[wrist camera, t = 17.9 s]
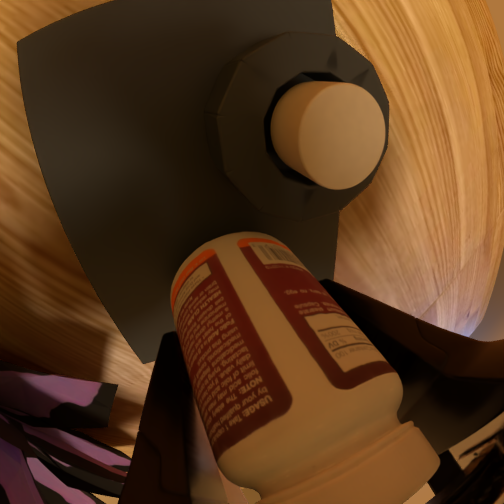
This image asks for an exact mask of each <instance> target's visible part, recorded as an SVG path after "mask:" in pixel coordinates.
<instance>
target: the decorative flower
mask: <svg viewBox="0 0 504 504" xmlns="http://www.w3.org/2000/svg"><path fill="white" fill-rule="evenodd" d="M117 387H118V385H117V384H110V383H103V382H97V381H91V380H85V379H80V378H75V377H70V376H65V375H60V374H51V375H50V374H46V373H42V372H38V371H34V370H31V369H27V368H24V367H20V366H17V365H13V364H10V363H7V362H4V361H1V360H0V504H106V503H104V502H103V501H101V500H100V499H98V498H97V497H96V496H94V495H93V494H92V493H95V494H100V495H105V496H110V497H116V498H119V497H120V494H121V491H122V488H123V485H124V482H125V478H126V475H127V473H126V472H128V469H129V466H130V462H131V459H132V458H130V457H129V456H127V455H126V454H124V453H123V452H122V451H119V450H117V449H115V448H113V447H110V446H108V445H106V444H104V443H102V442H100V441H98V440H96V439H94V438H92V437H90V436H88V435H86V434H84V433H83V432H80V431H76V430H73V429H70V428H103V427H108V423H109V417H110V412H111V408H112V404H113V401H114V397H115V394H116V391H117Z"/></svg>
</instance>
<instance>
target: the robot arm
mask: <svg viewBox="0 0 504 504" xmlns="http://www.w3.org/2000/svg"><path fill="white" fill-rule="evenodd" d="M318 282H319V283H320V284H321V285H322V286H323V288H324V289H325V290H326V291H327V292H328V294H329V295H330V296H331V297H332V298H333V299H334V301H335V302H336V303H337V304H338V305H339V306H340V307H341V308H342V309H343V310H344V312H345V313H346V314H347V315H348V316H349V317H350V319H351V320H352V321H353V322H354V323H355V324H356V326H357V327H358V328H359V329H360V330H361V331H362V332H363V333H364V335H365V336H366V337H367V338H368V339H369V340H370V342H371V343H372V344H373V345H374V346H375V347H376V349H377V350H378V351H379V352H380V353H381V354H382V356H383V357H384V358H385V359H386V361H387V362H388V363H389V365H390V366H391V367H392V368H393V369H394V370H396V372H397V373H398V375H399V378H400V380H401V383H402V386H403V397H402V401H401V404H400V406H399V408H398V411H397V418H398V420H399V422H400V423H401V424H404V423H406V422H409V421H412V422H413V423H414V426H415V427H417V428H419V429H420V431H421V432H422V434H423V435H424V436H425V438H426V439H427V441H428V442H429V443H430V445H431V446H432V448H433V449H434V451H435V452H436V454H437V455H438V457H439V459H440V465H439V467H438V469H437V471H436V472H435V473H434V475H433V476H432V477H431V478H430V479H429V480H428V481H427V483H428V484H429V486H430V487H431V489H432V491H433V492H434V494H435V496H434V497H433V498H432V499H431V500H429V501H428V502H427V503H426V504H504V339H502V340H497V341H491V342H485V341H478V340H475V339H472V338H469V337H466V336H463V335H460V334H457V333H454V332H451V331H448V330H445V329H442V328H440V327H437V326H435V325H432V324H430V323H427V322H425V321H423V320H421V319H418V318H415V317H414V316H411V315H409V314H407V313H405V312H402V311H400V310H398V309H396V308H393V307H391V306H389V305H387V304H384V303H382V302H380V301H378V300H375V299H373V298H371V297H369V296H366V295H364V294H362V293H360V292H357V291H355V290H353V289H351V288H348V287H346V286H344V285H342V284H339V283H337V282H335V281H332V280H330V279H327V278H325V279H322V280H320V281H318ZM456 460H457V461H456ZM458 463H459V464H458ZM118 504H229V502H228V498H227V495H226V492H225V489H224V486H223V483H222V479H221V476H220V473H219V469H218V466H217V463H216V461H215V458H214V455H213V451H212V449H211V446H210V443H209V441H208V438H207V434H206V432H205V428H204V425H203V423H202V420H201V417H200V414H199V411H198V408H197V405H196V401H195V398H194V395H193V391H192V387H191V384H190V381H189V377H188V373H187V370H186V366H185V363H184V359H183V356H182V351H181V347H180V343H179V339H178V335H177V332H176V331H171V332H167V333H164V334H163V336H162V339H161V343H160V346H159V350H158V353H157V357H156V360H155V364H154V368H153V372H152V375H151V379H150V383H149V387H148V391H147V395H146V399H145V403H144V407H143V411H142V416H141V420H140V424H139V431H138V433H137V438H136V443H135V447H134V451H133V455H132V459H131V462H130V466H129V469H128V472H127V475H126V478H125V482H124V485H123V488H122V491H121V494H120V497H119V501H118Z"/></svg>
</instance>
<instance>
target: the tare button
mask: <svg viewBox="0 0 504 504" xmlns="http://www.w3.org/2000/svg"><path fill="white" fill-rule="evenodd" d="M270 129H271V139H272V143H273V146H274V149H275V151H276V153H277V154H278V156H279V157H280V159H281V160H282V161H283V162H284V163H285V164H286V165H287V166H289V167H290V168H292V169H293V170H295V171H297V172H299V173H300V174H302V175H304V176H305V177H307V178H309V179H310V180H312V181H314V182H315V183H317V184H319V185H320V186H322V187H325V188H328V189H333V190H341V189H347V188H350V187H353V186H355V185H357V184H359V183H360V182H362V181H363V180H364V179H365V178H366V177H367V176H368V175H369V174H370V173H371V172H372V171H373V169H374V168H375V166H376V165H377V163H378V161H379V159H380V157H381V154H382V151H383V148H384V143H385V122H384V117H383V114H382V111H381V109H380V107H379V105H378V103H377V102H376V100H375V99H374V98H373V96H372V95H371V94H370V93H368V92H367V91H366V90H365V89H363V88H362V87H359V86H357V85H355V84H351V83H343V82H325V81H308V82H303V83H300V84H297V85H295V86H294V87H292V88H290V89H289V90H288V91H287V92H286V93H285V94H284V95H283V96H282V97H281V98H280V100H279V101H278V103H277V104H276V106H275V109H274V111H273V114H272V118H271V126H270Z"/></svg>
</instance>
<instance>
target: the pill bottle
mask: <svg viewBox="0 0 504 504" xmlns="http://www.w3.org/2000/svg"><path fill="white" fill-rule="evenodd" d="M170 301H171V309H172V313H173V318H174V323H175V328H176V332H177V335H178V339H179V343H180V347H181V351H182V356H183V359H184V363H185V366H186V370H187V373H188V377H189V381H190V384H191V387H192V391H193V395H194V398H195V401H196V405H197V408H198V411H199V414H200V417H201V420H202V423H203V425H204V428H205V432H206V434H207V438H208V441H209V443H210V446H211V449H212V451H213V455H214V458H215V461H216V463H217V466H218V468H219V469H220V471H221V472H222V474H223V475H224V477H225V478H226V479H227V480H228V481H230V482H231V483H233V484H235V485H237V486H240V487H244V488H250V489H254V490H255V491H257V492H258V493H259V494H260V496H261V500H260V501H258V502H256V503H255V504H403V503H404V502H405V501H406V500H408V499H409V498H410V497H411V496H413V495H414V494H415V493H416V492H417V491H418V490H419V489H420V488H421V487H422V486H423V485H424V484H425V483H426V482H427V481H428V480H429V479H430V478H431V477H432V476H433V475H434V473H435V472H436V471H437V469H438V467H439V465H440V459H439V457H438V455H437V454H436V452H435V451H434V449H433V448H432V446H431V445H430V443H429V442H428V441H427V439H426V438H425V436H424V435H423V434H422V432H421V431H420V429H419V428H417V427H415V426H414V423H413V422H412V421H409V422H406V423H404V424H401V423H400V422H399V420H398V418H397V411H398V408H399V406H400V404H401V401H402V397H403V386H402V383H401V380H400V378H399V375H398V373H397V372H396V370H394V369H393V368H392V367H391V366H390V365H389V363H388V362H387V361H386V359H385V358H384V357H383V356H382V354H381V353H380V352H379V351H378V350H377V349H376V347H375V346H374V345H373V344H372V343H371V342H370V340H369V339H368V338H367V337H366V336H365V335H364V333H363V332H362V331H361V330H360V329H359V328H358V327H357V326H356V324H355V323H354V322H353V321H352V320H351V319H350V317H349V316H348V315H347V314H346V313H345V312H344V310H343V309H342V308H341V307H340V306H339V305H338V304H337V303H336V302H335V301H334V299H333V298H332V297H331V296H330V295H329V294H328V292H327V291H326V290H325V289H324V288H323V286H322V285H321V284H320V283H319V282H318V281H317V279H316V278H315V277H314V276H313V275H312V274H311V273H310V272H309V271H308V270H307V268H306V267H305V266H304V265H303V264H302V263H301V262H300V260H299V259H298V258H297V257H296V256H295V255H294V254H293V253H292V251H291V250H290V249H289V248H288V247H287V246H286V245H285V244H283V243H282V242H280V241H279V240H277V239H276V238H274V237H272V236H270V235H267V234H263V233H260V232H239V233H232V234H227V235H224V236H221V237H218V238H216V239H213V240H211V241H209V242H206V243H204V244H203V245H202V246H200V247H199V248H197V249H196V250H195V251H194V252H193V253H192V254H191V255H190V256H189V257H188V258H187V259H186V260H185V261H184V262H183V264H182V265H181V266H180V268H179V270H178V272H177V273H176V276H175V278H174V280H173V283H172V287H171V294H170Z"/></svg>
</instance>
